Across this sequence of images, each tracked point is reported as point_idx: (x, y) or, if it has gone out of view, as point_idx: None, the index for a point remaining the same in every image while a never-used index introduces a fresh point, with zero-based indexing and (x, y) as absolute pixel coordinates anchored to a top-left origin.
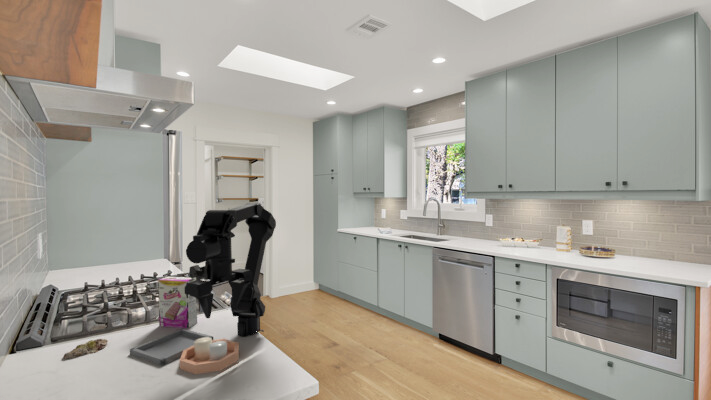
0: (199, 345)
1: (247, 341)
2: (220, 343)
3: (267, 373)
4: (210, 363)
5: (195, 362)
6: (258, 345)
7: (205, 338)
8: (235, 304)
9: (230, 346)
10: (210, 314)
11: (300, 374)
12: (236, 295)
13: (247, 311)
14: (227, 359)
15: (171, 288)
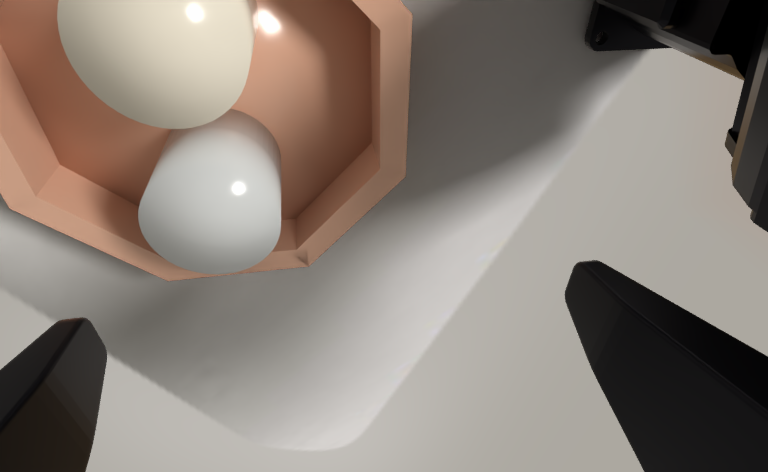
0: (94, 87)
1: (558, 48)
2: (235, 223)
3: (312, 359)
4: (112, 251)
5: (22, 181)
6: (520, 156)
7: (203, 19)
8: (585, 333)
9: (376, 112)
10: (93, 415)
11: (366, 417)
12: (683, 468)
13: (739, 139)
14: None
15: None
